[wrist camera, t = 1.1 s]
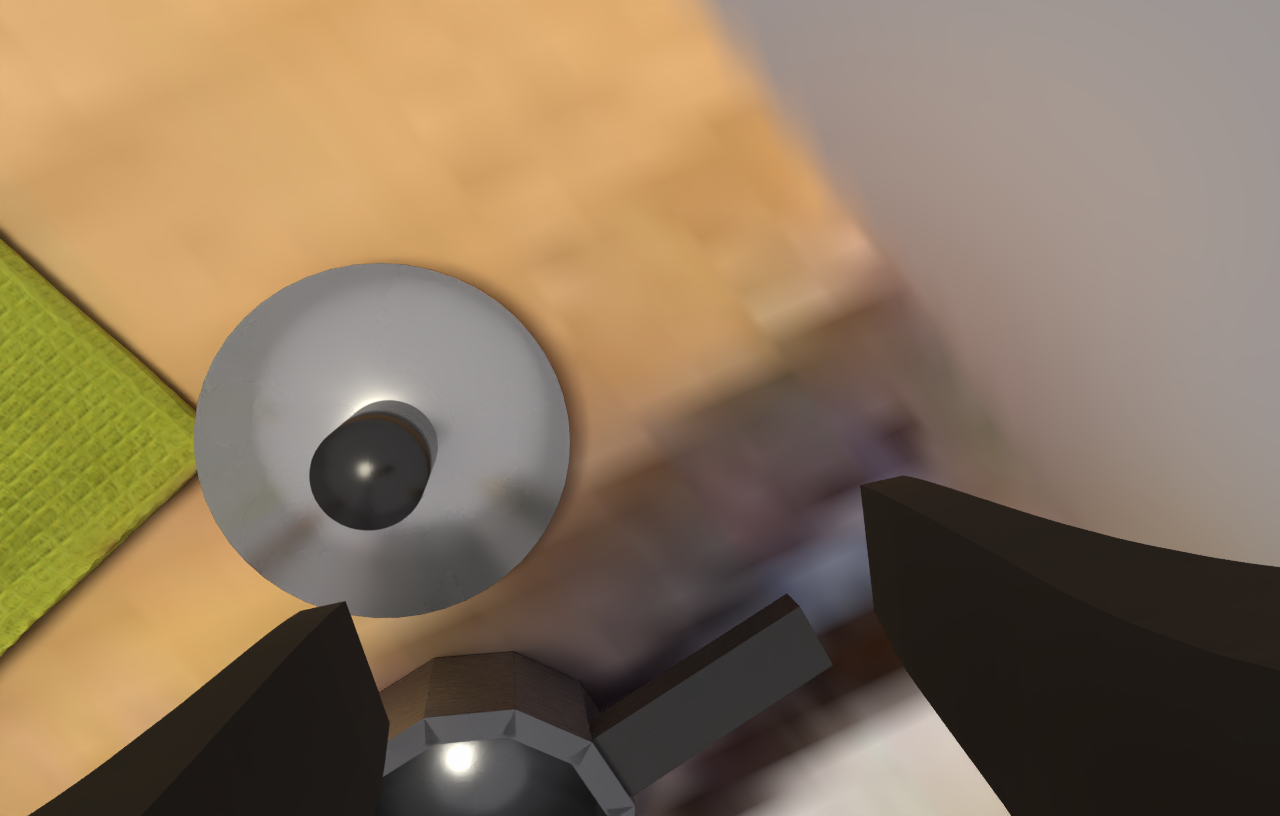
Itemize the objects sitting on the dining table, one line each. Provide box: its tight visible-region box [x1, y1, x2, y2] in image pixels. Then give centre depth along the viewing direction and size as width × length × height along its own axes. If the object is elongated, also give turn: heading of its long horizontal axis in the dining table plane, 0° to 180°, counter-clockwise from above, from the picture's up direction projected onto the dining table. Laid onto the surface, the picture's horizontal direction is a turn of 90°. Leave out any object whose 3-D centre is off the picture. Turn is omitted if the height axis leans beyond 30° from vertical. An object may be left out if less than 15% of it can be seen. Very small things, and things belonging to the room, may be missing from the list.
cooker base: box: [375, 594, 833, 816], centre depth 24 cm, size 18×9×4 cm, turn 120°
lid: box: [194, 263, 570, 618], centre depth 21 cm, size 10×10×5 cm
